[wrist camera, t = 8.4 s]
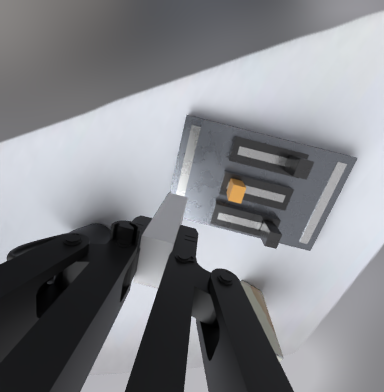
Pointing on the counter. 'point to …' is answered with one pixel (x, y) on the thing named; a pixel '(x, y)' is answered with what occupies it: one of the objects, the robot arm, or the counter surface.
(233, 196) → the breaker handle
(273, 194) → the panel
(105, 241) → the mug
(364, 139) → the counter surface
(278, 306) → the counter surface
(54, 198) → the counter surface
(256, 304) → the box
